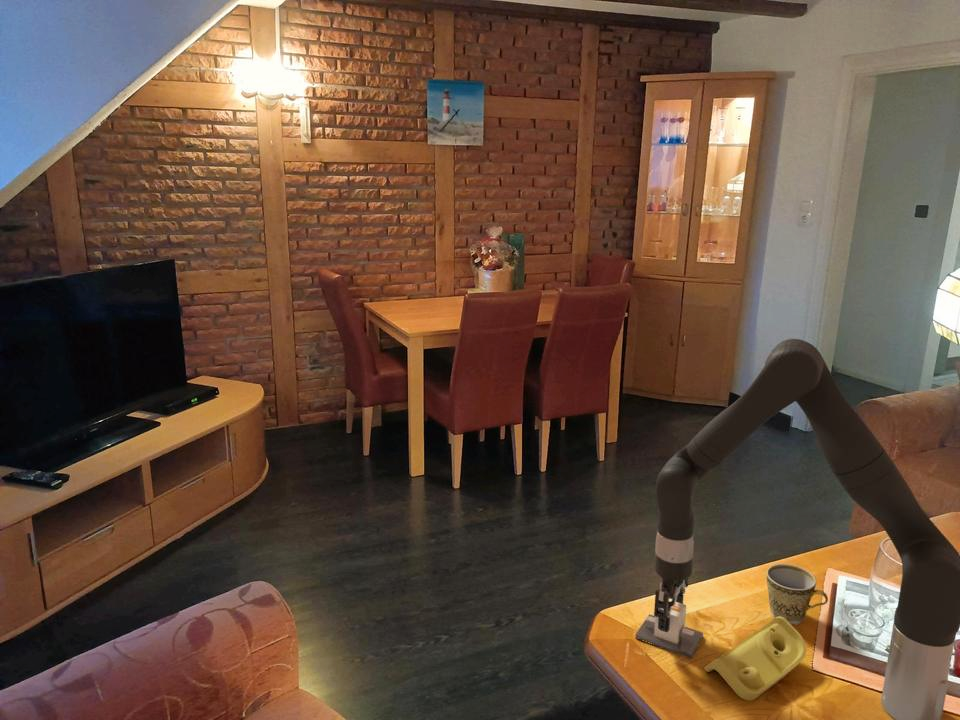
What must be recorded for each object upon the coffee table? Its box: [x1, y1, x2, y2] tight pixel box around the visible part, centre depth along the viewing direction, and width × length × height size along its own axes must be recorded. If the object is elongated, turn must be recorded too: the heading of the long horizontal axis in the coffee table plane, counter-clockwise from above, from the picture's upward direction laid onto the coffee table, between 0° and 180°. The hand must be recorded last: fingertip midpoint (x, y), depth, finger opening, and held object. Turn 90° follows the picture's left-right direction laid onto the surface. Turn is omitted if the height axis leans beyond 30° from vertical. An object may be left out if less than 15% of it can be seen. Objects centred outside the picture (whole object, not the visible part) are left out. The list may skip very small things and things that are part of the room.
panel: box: [635, 614, 704, 659], centre depth 148 cm, size 12×8×3 cm, turn 56°
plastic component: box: [703, 616, 807, 701], centre depth 138 cm, size 20×7×10 cm
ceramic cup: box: [766, 563, 829, 626], centre depth 152 cm, size 13×10×10 cm
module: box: [654, 599, 687, 644], centre depth 147 cm, size 5×5×7 cm
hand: (670, 619), depth 147 cm, fingers open, 8 cm apart
